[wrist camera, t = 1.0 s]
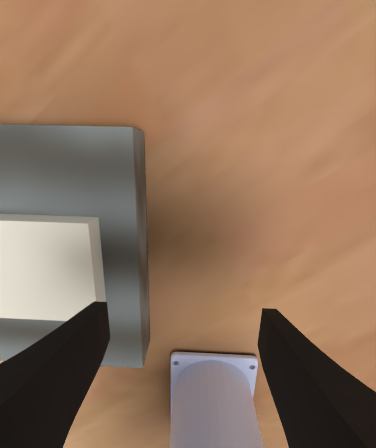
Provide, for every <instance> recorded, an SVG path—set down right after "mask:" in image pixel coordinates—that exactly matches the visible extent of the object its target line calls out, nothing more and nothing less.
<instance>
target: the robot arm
mask: <svg viewBox="0 0 376 448" xmlns="http://www.w3.org/2000/svg"><path fill="white" fill-rule="evenodd" d="M109 341H110V328H109V317H108V306H107V302H97V301H94V302H93V303H91V304H90V305H88V306H87V307H85V308H84V309H83V310H81V311H80V312H79V313H77V314H76V315H74V316H73V317H72V318H70V319H69V320H68V321H66V322H65V323H63V324H62V325H61V326H59V327H58V328H56V329H55V330H54V331H52V332H51V333H49V334H48V335H46V336H45V337H43V338H42V339H40V340H39V341H37V342H36V343H34V344H33V345H31V346H29V347H28V348H26V349H25V350H23V351H21V352H20V353H18V354H16V355H15V356H13V357H11V358H9V359H8V360H6V361H4V362H2V363H1V364H0V448H63V445H64V443H65V440H66V438H67V435H68V432H69V430H70V428H71V425H72V423H73V421H74V419H75V416H76V414H77V412H78V410H79V408H80V406H81V404H82V402H83V400H84V398H85V396H86V394H87V392H88V390H89V388H90V386H91V383H92V381H93V379H94V377H95V375H96V373H97V371H98V369H99V367H100V365H101V363H102V361H103V358H104V355H105V352H106V350H107V347H108V344H109ZM258 349H259V353H260V358H261V362H262V367H263V370H264V373H265V376H266V379H267V382H268V385H269V388H270V391H271V394H272V397H273V399H274V402H275V405H276V408H277V411H278V414H279V417H280V420H281V423H282V426H283V429H284V432H285V435H286V438H287V442H288V446H289V448H376V392H375V391H373V390H372V389H370V388H369V387H367V386H366V385H365V384H363V383H362V382H360V381H359V380H358V379H356V378H355V377H354V376H352V375H351V374H350V373H348V372H347V371H346V370H344V369H343V368H342V367H340V366H339V365H338V364H337V363H335V362H334V361H333V360H332V359H331V358H329V357H328V356H327V355H326V354H325V353H323V352H322V351H321V350H320V349H319V348H318V347H316V346H315V345H314V344H313V343H312V342H311V341H310V340H309V339H307V338H306V337H305V336H304V335H303V334H302V333H301V332H300V331H299V330H298V329H297V328H296V327H295V326H294V325H292V324H291V323H290V322H289V321H288V320H287V319H286V318H285V317H284V316H283V315H282V314H281V313H280V312H279V311H278V310H277V309H265V308H262V316H261V323H260V331H259V338H258ZM175 361H178V362H175ZM251 365H253V366H251ZM257 368H258V360H257V358H256V357H255V356H251V355H232V354H212V353H193V352H173V353H172V354H171V431H170V442H169V448H264V445H263V441H262V436H261V432H260V428H259V423H258V419H257V415H256V410H255V406H254V401H253V396H254V389H255V382H256V375H257Z"/></svg>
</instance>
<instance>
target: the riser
mask: <svg viewBox="0 0 376 448" xmlns="http://www.w3.org/2000/svg"><path fill="white" fill-rule="evenodd" d="M0 214H22V215H52V216H82V217H99V228H100V239H101V250H102V261H103V272H104V283H105V294H106V302H107V306H108V317H109V328H110V341H109V344H108V347H107V350H106V352H105V355H104V358H103V361H102V363H101V365H100V366H113V367H131V368H143V365H144V361H145V357H146V353H147V350H148V346H149V342H150V319H149V285H148V250H147V215H146V180H145V145H144V132H143V131H141V130H138V129H136V128H134V127H111V126H64V125H17V124H0ZM65 322H66V321H55V320H34V319H13V318H0V361H6V360H8V359H9V358H11V357H13V356H15V355H16V354H18V353H20V352H21V351H23V350H25V349H26V348H28V347H29V346H31V345H33V344H34V343H36V342H37V341H39V340H40V339H42V338H43V337H45V336H46V335H48V334H49V333H51V332H52V331H54V330H55V329H56V328H58V327H59V326H61V325H62V324H63V323H65Z"/></svg>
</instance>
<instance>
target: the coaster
mask: <svg viewBox="0 0 376 448" xmlns="http://www.w3.org/2000/svg"><path fill="white" fill-rule="evenodd" d="M94 301H97V302H106V294H105V283H104V272H103V261H102V250H101V239H100V228H99V217H82V216H52V215H22V214H0V318H13V319H34V320H55V321H68V320H69V319H70V318H72V317H73V316H74V315H76V314H77V313H79V312H80V311H81V310H83V309H84V308H85V307H87V306H88V305H90V304H91V303H93V302H94Z"/></svg>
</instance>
